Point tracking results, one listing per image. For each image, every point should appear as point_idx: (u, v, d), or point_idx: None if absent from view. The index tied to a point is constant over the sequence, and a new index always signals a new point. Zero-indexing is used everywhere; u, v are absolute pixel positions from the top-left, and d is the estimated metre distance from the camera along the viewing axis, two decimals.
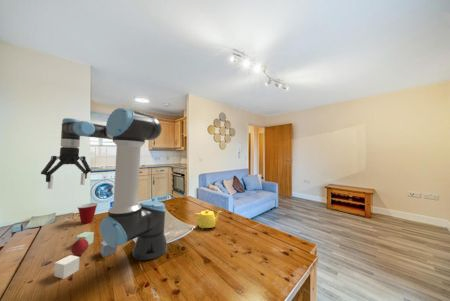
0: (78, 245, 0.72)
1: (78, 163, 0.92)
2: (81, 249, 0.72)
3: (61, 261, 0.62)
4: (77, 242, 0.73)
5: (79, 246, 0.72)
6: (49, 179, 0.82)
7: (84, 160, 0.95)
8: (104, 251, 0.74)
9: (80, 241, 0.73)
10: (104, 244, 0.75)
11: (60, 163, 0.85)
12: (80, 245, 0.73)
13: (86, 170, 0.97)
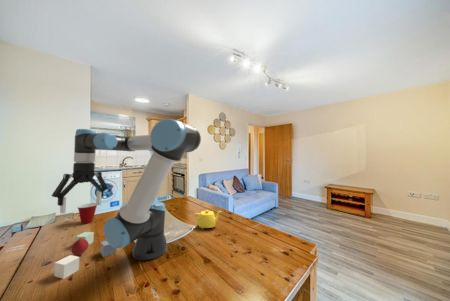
0: (78, 245, 0.72)
1: (94, 180, 0.79)
2: (81, 249, 0.72)
3: (61, 261, 0.62)
4: (77, 242, 0.73)
5: (79, 246, 0.72)
6: (62, 202, 0.69)
7: (100, 176, 0.82)
8: (104, 251, 0.74)
9: (80, 241, 0.73)
10: (104, 244, 0.75)
11: (74, 182, 0.72)
12: (80, 244, 0.73)
13: (102, 187, 0.84)
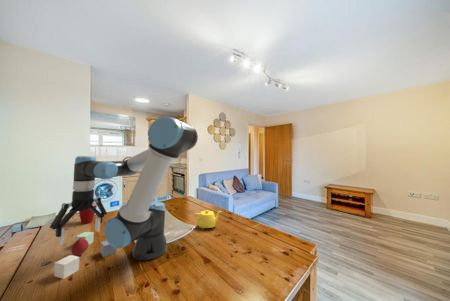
0: (78, 245, 0.72)
1: (93, 207, 0.78)
2: (81, 249, 0.72)
3: (61, 261, 0.62)
4: (77, 242, 0.73)
5: (79, 246, 0.72)
6: (60, 233, 0.68)
7: (99, 202, 0.80)
8: (104, 251, 0.74)
9: (80, 241, 0.73)
10: (104, 244, 0.75)
11: (73, 211, 0.71)
12: (80, 245, 0.73)
13: (101, 213, 0.83)
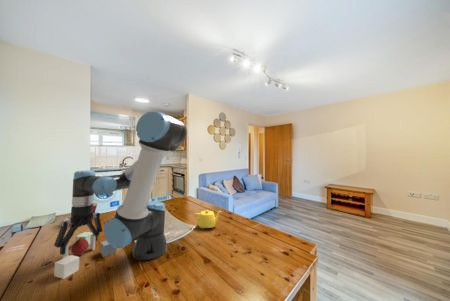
0: (78, 245, 0.72)
1: (91, 223, 0.77)
2: (81, 249, 0.72)
3: (61, 261, 0.62)
4: (77, 242, 0.73)
5: (79, 246, 0.72)
6: (64, 251, 0.69)
7: (98, 218, 0.80)
8: (104, 251, 0.74)
9: (80, 241, 0.73)
10: (104, 244, 0.75)
11: (73, 228, 0.71)
12: (80, 245, 0.73)
13: None
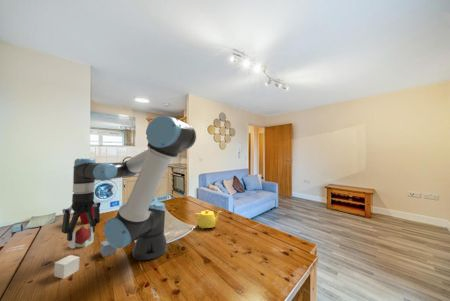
0: (79, 234, 0.72)
1: (90, 212, 0.76)
2: (82, 238, 0.72)
3: (61, 261, 0.62)
4: (78, 231, 0.73)
5: (80, 235, 0.72)
6: (71, 237, 0.70)
7: (98, 207, 0.80)
8: (104, 251, 0.74)
9: (81, 230, 0.73)
10: (104, 244, 0.75)
11: (76, 215, 0.72)
12: (81, 233, 0.73)
13: None
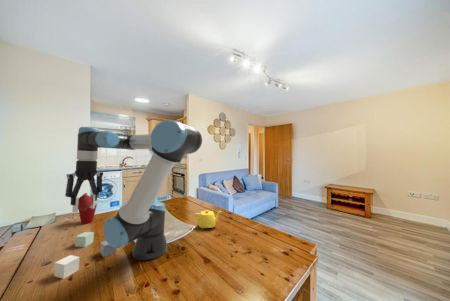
0: (82, 200, 0.74)
1: (93, 180, 0.78)
2: (85, 203, 0.74)
3: (61, 261, 0.62)
4: (81, 197, 0.75)
5: (83, 201, 0.74)
6: (74, 202, 0.72)
7: (100, 177, 0.82)
8: (104, 251, 0.74)
9: (84, 196, 0.76)
10: (104, 244, 0.75)
11: (79, 181, 0.74)
12: (84, 199, 0.75)
13: None
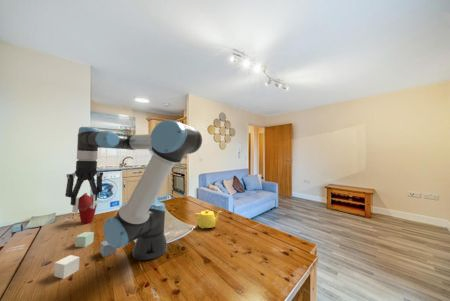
0: (82, 200, 0.74)
1: (93, 180, 0.78)
2: (85, 203, 0.74)
3: (61, 261, 0.62)
4: (81, 197, 0.75)
5: (83, 201, 0.74)
6: (74, 202, 0.72)
7: (100, 177, 0.82)
8: (104, 251, 0.74)
9: (84, 196, 0.76)
10: (104, 244, 0.75)
11: (79, 181, 0.74)
12: (84, 199, 0.75)
13: None
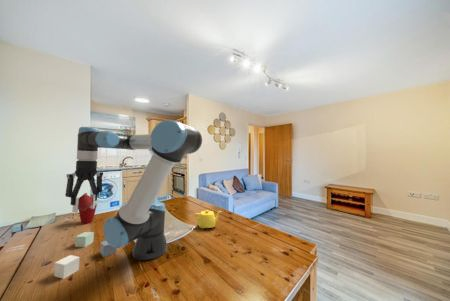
0: (82, 200, 0.74)
1: (93, 180, 0.78)
2: (85, 203, 0.74)
3: (61, 261, 0.62)
4: (81, 197, 0.75)
5: (83, 201, 0.74)
6: (74, 202, 0.72)
7: (100, 177, 0.82)
8: (104, 251, 0.74)
9: (84, 196, 0.76)
10: (104, 244, 0.75)
11: (79, 181, 0.74)
12: (84, 199, 0.75)
13: None
